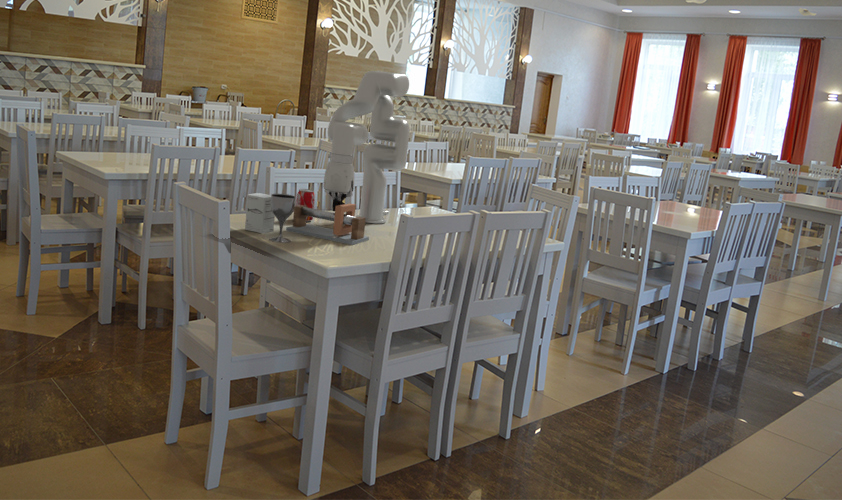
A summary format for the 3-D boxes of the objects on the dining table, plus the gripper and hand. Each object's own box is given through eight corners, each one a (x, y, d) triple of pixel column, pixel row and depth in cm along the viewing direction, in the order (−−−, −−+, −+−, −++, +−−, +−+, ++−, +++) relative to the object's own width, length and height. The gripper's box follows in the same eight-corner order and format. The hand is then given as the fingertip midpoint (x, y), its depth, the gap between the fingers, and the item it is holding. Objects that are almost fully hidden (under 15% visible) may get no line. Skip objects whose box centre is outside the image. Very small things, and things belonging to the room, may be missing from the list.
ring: (332, 234, 233) (335, 206, 231) (347, 230, 242) (349, 203, 240) (338, 235, 232) (341, 207, 230) (352, 231, 241) (355, 204, 239)
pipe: (297, 215, 241) (298, 206, 240) (302, 214, 244) (303, 205, 244) (356, 227, 233) (356, 217, 232) (360, 226, 236) (361, 216, 235)
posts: (292, 229, 242) (294, 206, 240) (300, 227, 247) (301, 205, 245) (356, 243, 233) (358, 219, 231) (363, 241, 237) (365, 217, 235)
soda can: (309, 223, 257) (311, 192, 255) (291, 220, 258) (294, 189, 256) (315, 220, 264) (318, 190, 261) (298, 217, 265) (301, 187, 263)
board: (286, 230, 239) (286, 227, 239) (304, 226, 250) (304, 223, 250) (352, 244, 229) (352, 241, 229) (368, 240, 240) (369, 236, 240)
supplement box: (244, 230, 232) (246, 194, 229) (256, 227, 239) (258, 192, 236) (262, 234, 229) (264, 197, 227) (274, 231, 236) (276, 195, 233)
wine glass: (270, 242, 218) (273, 197, 215) (265, 237, 225) (269, 193, 222) (294, 243, 222) (298, 198, 218) (289, 237, 229) (292, 194, 225)
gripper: (317, 156, 232) (312, 208, 236) (355, 162, 226) (349, 216, 230) (328, 156, 239) (324, 206, 243) (365, 162, 233) (360, 213, 237)
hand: (336, 211), depth 237 cm, fingers closed
